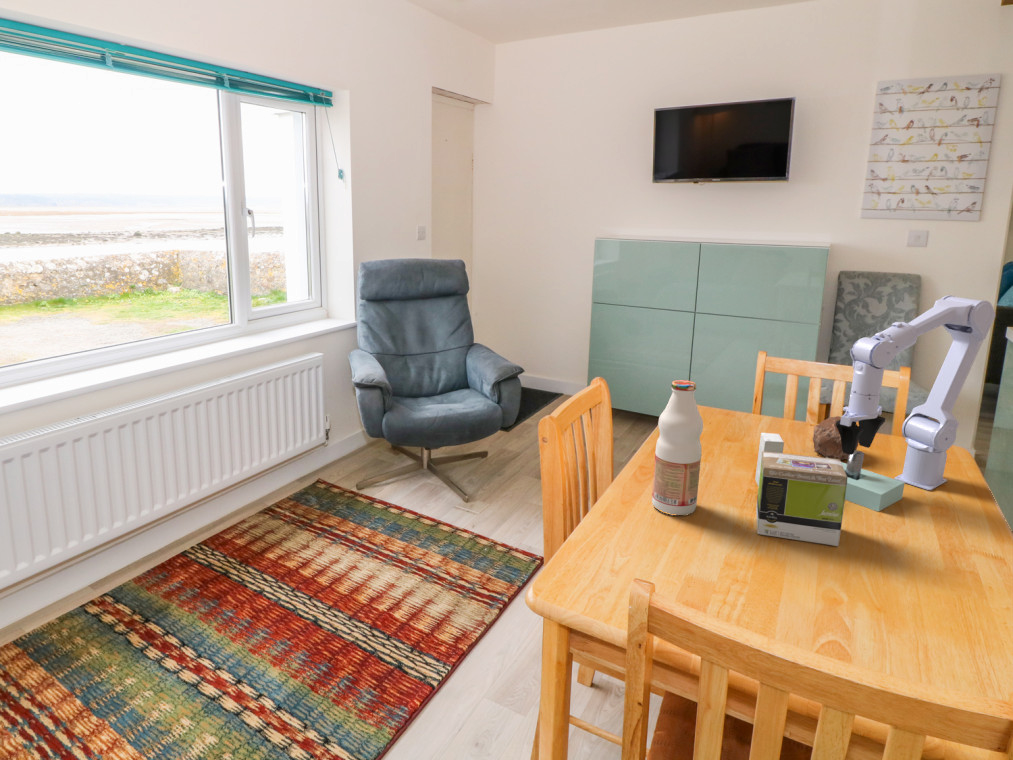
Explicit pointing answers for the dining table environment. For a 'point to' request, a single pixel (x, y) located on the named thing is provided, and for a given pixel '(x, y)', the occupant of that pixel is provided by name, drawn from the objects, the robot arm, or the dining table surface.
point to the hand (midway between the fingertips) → (856, 449)
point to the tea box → (801, 497)
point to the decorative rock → (829, 439)
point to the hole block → (873, 490)
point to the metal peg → (854, 465)
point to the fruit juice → (678, 452)
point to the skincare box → (768, 448)
